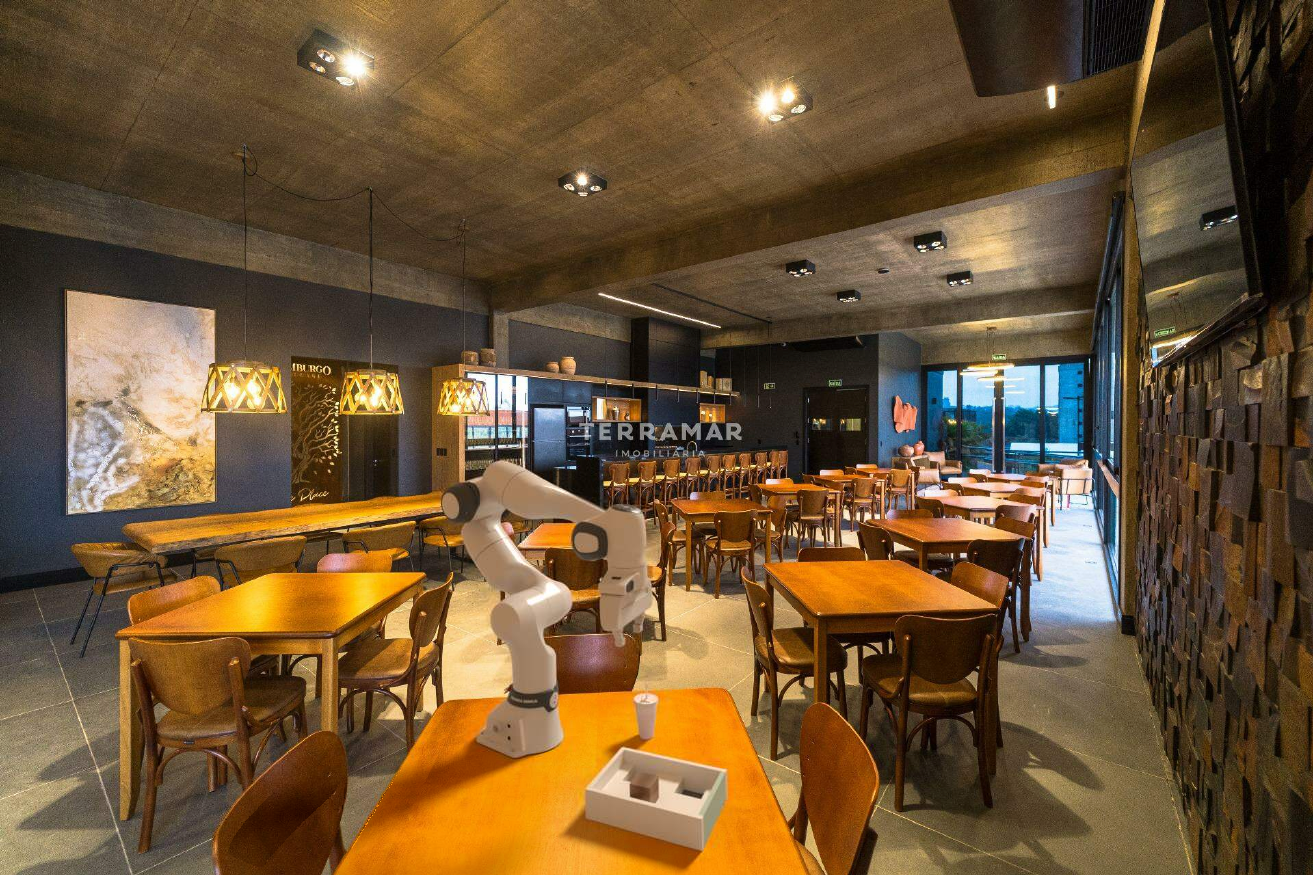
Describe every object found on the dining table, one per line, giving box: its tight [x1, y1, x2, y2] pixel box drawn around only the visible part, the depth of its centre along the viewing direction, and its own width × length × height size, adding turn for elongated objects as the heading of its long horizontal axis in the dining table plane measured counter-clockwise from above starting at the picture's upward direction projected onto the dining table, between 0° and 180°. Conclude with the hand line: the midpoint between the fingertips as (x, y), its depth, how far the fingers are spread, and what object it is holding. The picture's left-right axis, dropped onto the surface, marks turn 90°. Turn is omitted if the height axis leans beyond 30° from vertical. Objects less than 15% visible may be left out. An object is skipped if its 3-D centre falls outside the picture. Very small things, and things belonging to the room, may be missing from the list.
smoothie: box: [633, 681, 659, 740], centre depth 148 cm, size 6×6×14 cm
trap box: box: [584, 746, 728, 852], centre depth 119 cm, size 25×17×6 cm
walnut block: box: [630, 772, 659, 803], centre depth 117 cm, size 4×4×4 cm
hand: (629, 638), depth 128 cm, fingers open, 8 cm apart
